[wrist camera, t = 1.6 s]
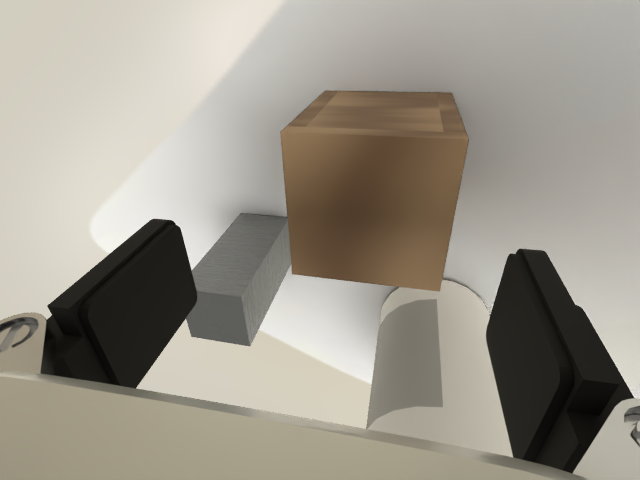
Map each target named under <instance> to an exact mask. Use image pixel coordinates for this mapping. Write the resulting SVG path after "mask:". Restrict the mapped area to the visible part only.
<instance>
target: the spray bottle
mask: <svg viewBox="0 0 640 480" xmlns="http://www.w3.org/2000/svg"><path fill="white" fill-rule="evenodd" d="M489 319H490V315H489V312H488V310H487V308H486V307H485V305H484V303H483V301H482V300H481V299H480V298H479V297H478V296H477V295H475V294H474V293H473V292H472V291H471V290H470V289H468V288H466V287H464V286H462V285H460V284H457V283H455V282H453V281H447V280H442V283H441V289H440V292H438V291H430V290H421V289H413V288H404V287H399V288H398V289H397V290H395V291H394V292H392V293H391V294H390V295H389V297H388V298H387V300H386V301H385V303H384V304H383V306H382V310H381V316H380V323H379V331H378V339H377V347H376V355H375V363H374V371H373V379H372V387H371V395H370V403H369V411H368V420H367V427H366V429H368V430H374V431H380V432H385V433H391V434H396V435H402V436H407V437H413V438H418V439H424V440H429V441H434V442H439V443H444V444H449V445H454V446H459V447H464V448H469V449H474V450H479V451H484V452H489V453H495V454H500V455H505V456H509V457H513V454H512V450H511V446H510V441H509V437H508V433H507V428H506V424H505V420H504V415H503V411H502V407H501V403H500V398H499V394H498V390H497V385H496V381H495V377H494V372H493V368H492V364H491V360H490V355H489V351H488V347H487V342H486V329H487V325H488V322H489Z"/></svg>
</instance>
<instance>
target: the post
mask: <svg viewBox="0 0 640 480" xmlns="http://www.w3.org/2000/svg"><path fill="white" fill-rule="evenodd" d="M290 265H291V253H290V241H289V229H288V217H277V216H265V215H254V214H242V213H241V214H240V215H239V216H238V217H237V219H236V220H235V221H234V222H233V223H232V224H231V226H230V227H229V228H228V229H227V230H226V231H225V233H224V234H223V235H222V236H221V237H220V238H219V240H218V241H217V242H216V243H215V244H214V246H213V247H212V248H211V249H210V250H209V251H208V253H207V254H206V255H205V256H204V257H203V258H202V260H201V261H200V262H199V263H198V264H197V265H196V267H195V268H194V269H193V270H192V275H193V279H194V283H195V286H196V290H197V302H196V304H195V306H194V307H193V309H192V310H191V312H190V313H189V314H188V316H187V317H186V320H187V323H188V326H189V329H190V333H191V336H192V337H197V338H203V339H209V340H215V341H221V342H227V343H233V344H239V345H245V346H250V345H251V343H252V341H253V339H254V337H255V335H256V333H257V331H258V329H259V327H260V325H261V323H262V321H263V319H264V317H265V315H266V313H267V311H268V309H269V307H270V305H271V303H272V301H273V299H274V297H275V295H276V293H277V291H278V289H279V287H280V285H281V283H282V281H283V279H284V277H285V275H286V273H287V271H288V269H289V267H290Z"/></svg>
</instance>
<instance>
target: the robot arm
mask: <svg viewBox="0 0 640 480" xmlns="http://www.w3.org/2000/svg"><path fill="white" fill-rule="evenodd" d="M196 302H197V290H196V286H195V283H194V279H193V275H192V271H191V267H190V263H189V260H188V256H187V252H186V248H185V244H184V240H183V237H182V233H181V229H180V227H179V226H177V225H176V224H175V223H174V221H172V220H162V219H152V220H150V221H149V222H148V223H147V224H145V225H144V226H143V227H142V228H141V229H139V230H138V231H137V232H136V233H135V234H133V235H132V236H131V237H130V238H129V239H127V240H126V241H125V242H124V243H122V244H121V245H120V246H119V247H118V248H116V249H115V250H114V251H113V252H112V253H110V254H109V255H108V256H107V257H106V258H105V259H103V260H102V261H101V262H100V263H98V264H97V265H96V266H95V267H94V268H92V269H91V270H90V271H89V272H88V273H86V274H85V275H84V276H83V277H82V278H80V279H79V280H78V281H77V282H75V283H74V284H73V285H72V286H71V287H70V288H68V289H67V290H66V291H65V292H63V293H62V294H61V295H60V296H59V297H57V298H56V299H55V300H54V301H53V302H51V303H50V304H49V305H48V308H49V310H50V312H51V313H52V316H51V317H50V318H49V319H47V320H46V318H45V317H44V316H43V315H41V314H38V313H22V314H18V315H14V316H11V317H8V318H6V319H3V320H1V321H0V480H640V399H635V398H634V397H633V395H632V393H631V392H630V390H629V388H628V386H627V385H626V383H625V381H624V379H623V378H622V376H621V374H620V372H619V371H618V369H617V367H616V366H615V364H614V362H613V360H612V359H611V357H610V355H609V353H608V352H607V350H606V348H605V346H604V345H603V343H602V341H601V340H600V338H599V336H598V334H597V333H596V331H595V329H594V327H593V326H592V324H591V322H590V320H589V319H588V317H587V315H586V314H585V312H584V311H583V309H582V308H581V307H579V306H577V305H575V304H574V302H573V300H572V298H571V296H570V295H569V293H568V291H567V289H566V287H565V286H564V284H563V282H562V280H561V279H560V277H559V275H558V273H557V271H556V270H555V268H554V266H553V264H552V262H551V261H550V259H549V257H548V255H547V253H546V252H545V251H541V250H529V249H519V250H518V251H517V252H516V254H509V256H508V258H507V261H506V265H505V268H504V271H503V275H502V278H501V282H500V285H499V288H498V292H497V295H496V298H495V302H494V305H493V309H492V312H491V315H490V319H489V322H488V325H487V329H486V342H487V347H488V351H489V355H490V360H491V364H492V368H493V372H494V377H495V381H496V385H497V390H498V394H499V398H500V403H501V407H502V411H503V415H504V420H505V424H506V428H507V433H508V437H509V441H510V446H511V450H512V454H513V457H509V456H505V455H500V454H495V453H489V452H484V451H479V450H474V449H469V448H464V447H459V446H454V445H449V444H444V443H439V442H434V441H429V440H424V439H418V438H413V437H407V436H402V435H396V434H391V433H385V432H380V431H374V430H368V429H363V428H357V427H352V426H346V425H341V424H335V423H330V422H324V421H319V420H313V419H308V418H302V417H296V416H291V415H285V414H279V413H274V412H268V411H262V410H256V409H251V408H245V407H240V406H234V405H228V404H223V403H217V402H211V401H205V400H199V399H194V398H188V397H182V396H176V395H170V394H164V393H158V392H153V391H146V390H141V389H136V387H137V385H138V384H139V383H140V382H141V380H142V379H143V377H144V376H145V375H146V373H147V372H148V370H149V369H150V368H151V366H152V365H153V363H154V362H155V360H156V359H157V358H158V356H159V355H160V354H161V352H162V351H163V349H164V348H165V347H166V345H167V344H168V342H169V341H170V339H171V338H172V337H173V335H174V334H175V333H176V331H177V330H178V328H179V327H180V326H181V324H182V323H183V321H184V320H185V319H186V317H187V316H188V314H189V313H190V312H191V310H192V309H193V307H194V306H195V304H196Z"/></svg>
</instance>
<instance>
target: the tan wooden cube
mask: <svg viewBox="0 0 640 480" xmlns="http://www.w3.org/2000/svg"><path fill="white" fill-rule="evenodd" d="M468 141H469V138H468V136H467V133H466V130H465V127H464V125H463V122H462V119H461V117H460V114H459V111H458V108H457V106H456V103H455V100H454V97H453V95H452V93H441V92H377V91H324V92H323V93H322V94H321V95H320V96H319V97H318V98H317V99H316V100H315V101H314V102H312V103H311V104H310V105H309V106H308V107H307V108H306V109H305V110H304V111H303V112H302V113H300V114H299V115H298V116H297V117H296V118H295V119H294V120H293V121H292V122H291V123H290V124H289V125H287V126H286V127H285V128H284V129H283V130H282V131H281V144H282V156H283V168H284V180H285V193H286V205H287V217H288V229H289V241H290V253H291V265H292V274H296V275H304V276H312V277H321V278H329V279H338V280H346V281H354V282H363V283H371V284H379V285H388V286H396V287H404V288H413V289H421V290H430V291H438V292H440V289H441V283H442V278H443V273H444V267H445V262H446V257H447V252H448V246H449V241H450V236H451V231H452V225H453V220H454V215H455V210H456V204H457V199H458V194H459V189H460V183H461V178H462V173H463V168H464V162H465V157H466V152H467V146H468Z"/></svg>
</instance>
